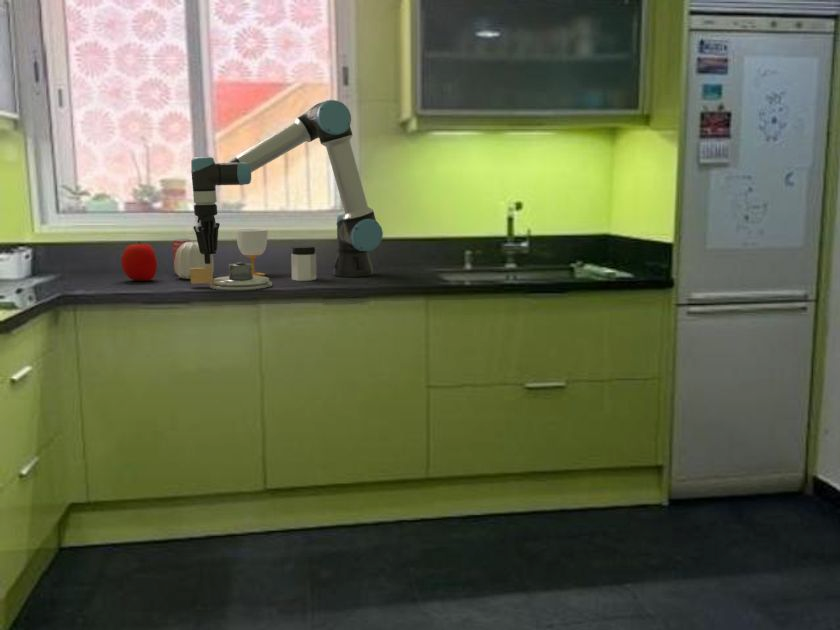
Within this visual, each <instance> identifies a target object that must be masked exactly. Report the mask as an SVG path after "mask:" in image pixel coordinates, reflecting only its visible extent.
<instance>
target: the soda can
mask: <svg viewBox="0 0 840 630" xmlns="http://www.w3.org/2000/svg"><path fill="white" fill-rule="evenodd" d="M185 242H192V241H191V239H188V238H185V239H182V238H181V239H179V238H178V239H174V240H173V243H172V254H173V264H174V263H175V255H176V252H177V249H178V248H179V247H180V246H181V245H182V244H184V243H185ZM173 269H174V273H175V274H176V275H177V273H176V272H175V268H174V267H173Z"/></svg>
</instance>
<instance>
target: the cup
mask: <svg viewBox="0 0 840 630" xmlns="http://www.w3.org/2000/svg"><path fill="white" fill-rule="evenodd" d="M235 236H236V243H237V247H238V250H239V252H240V253H241V254H242V255H243V256H244V257H247V258H249V259H250V260H251V261H250V263H251V264H252V266H253V276H263V277H264V276H265V275H266V273H263V272H256V269H255V268H256V267H255V259H256V258H257V257H260V256H262V255H263V254H264V252H265V251H266V249H267V245H268V229H267V228H266V229H265V228H242V229H241V228H240V229H236V230H235Z"/></svg>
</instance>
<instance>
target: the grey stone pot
mask: <svg viewBox="0 0 840 630" xmlns="http://www.w3.org/2000/svg"><path fill="white" fill-rule="evenodd" d="M228 276H229V280H251V279H253V266H252V263H251V262H250V263H249V262H248V263H247V262H245V261H244V262H243V261H239V262H235V263H229V264H228Z"/></svg>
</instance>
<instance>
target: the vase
mask: <svg viewBox="0 0 840 630" xmlns="http://www.w3.org/2000/svg"><path fill="white" fill-rule="evenodd" d="M174 268H175V272H176V273H177V274H176V273H175V272H174V273H175V274H176V275H177V276H178V277H179V278H181V279H183V280H184V279H185V280H191V274H190V269H191V268H205V258H204V254H201V253H200V250H199V246H198V241H195V240H194V241H191V242H185V243H184V244H182V245H181V246H180V247H179V248H178V249H177V252H176V255H175V263H174V262H173V269H174Z"/></svg>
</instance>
